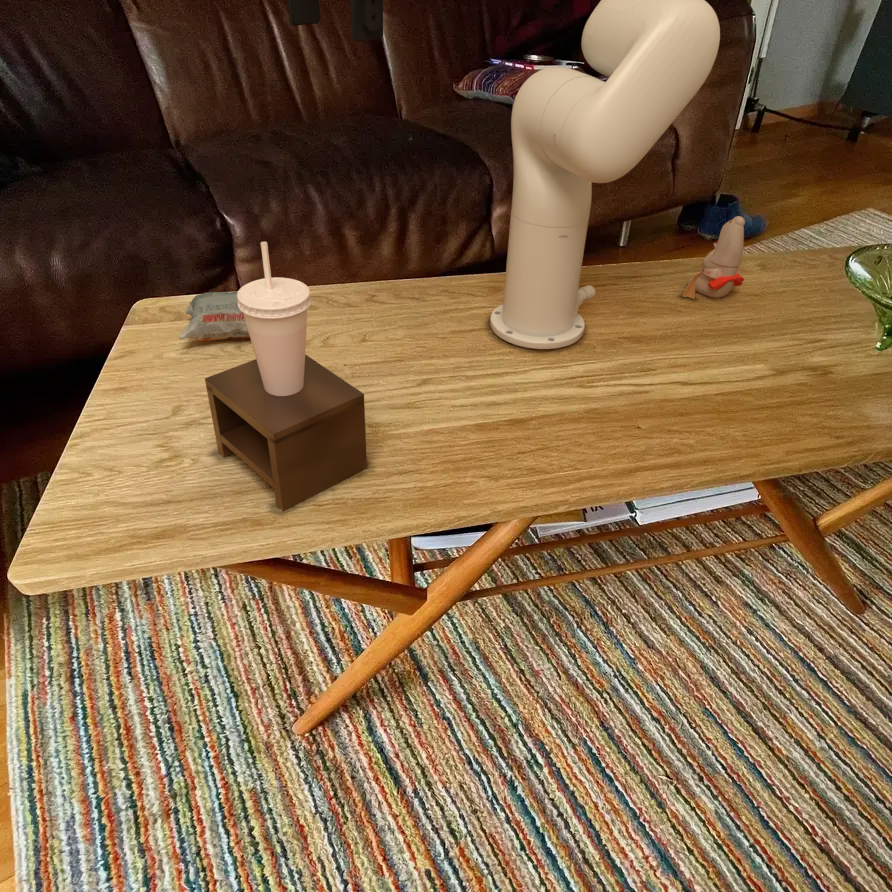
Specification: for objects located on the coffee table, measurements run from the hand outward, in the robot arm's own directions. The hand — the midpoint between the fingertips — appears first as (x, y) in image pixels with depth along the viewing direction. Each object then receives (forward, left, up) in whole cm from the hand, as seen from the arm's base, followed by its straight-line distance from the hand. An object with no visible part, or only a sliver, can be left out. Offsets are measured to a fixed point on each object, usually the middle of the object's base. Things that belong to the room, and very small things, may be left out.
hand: (335, 31), depth 71 cm
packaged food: (+7, -16, -36) cm, 40 cm away
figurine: (-53, +17, -36) cm, 67 cm away
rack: (+16, +11, -36) cm, 41 cm away
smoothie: (+16, +11, -28) cm, 34 cm away
